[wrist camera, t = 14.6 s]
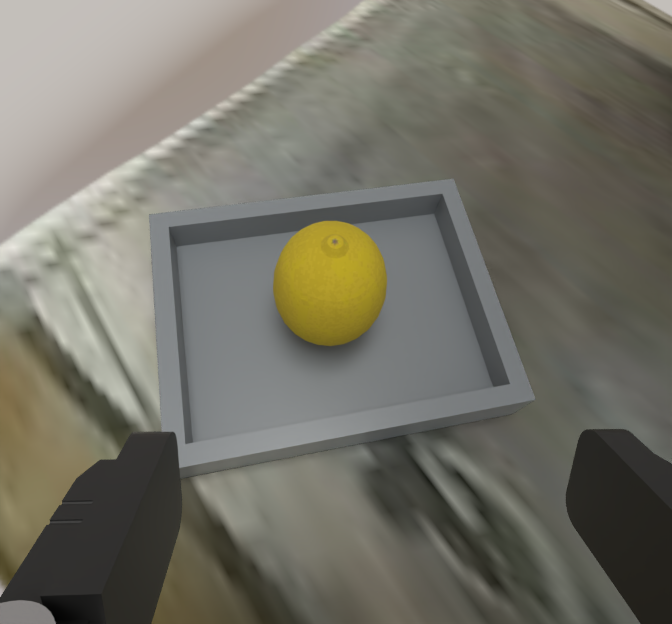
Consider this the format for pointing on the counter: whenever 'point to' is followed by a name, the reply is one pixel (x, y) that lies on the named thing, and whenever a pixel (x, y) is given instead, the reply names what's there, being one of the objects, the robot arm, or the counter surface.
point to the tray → (318, 360)
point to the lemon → (330, 283)
